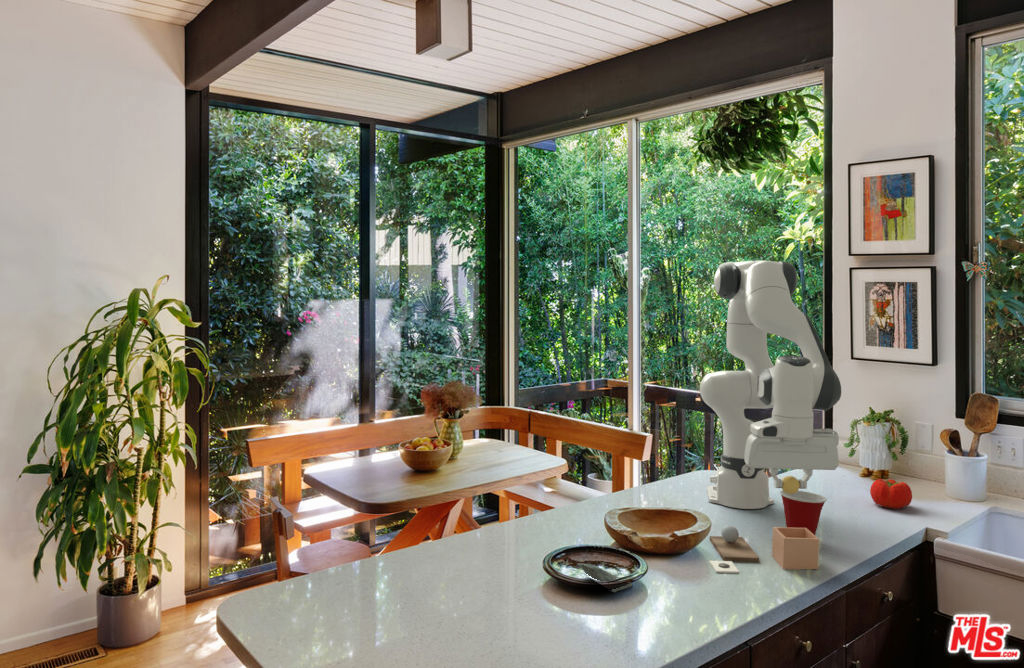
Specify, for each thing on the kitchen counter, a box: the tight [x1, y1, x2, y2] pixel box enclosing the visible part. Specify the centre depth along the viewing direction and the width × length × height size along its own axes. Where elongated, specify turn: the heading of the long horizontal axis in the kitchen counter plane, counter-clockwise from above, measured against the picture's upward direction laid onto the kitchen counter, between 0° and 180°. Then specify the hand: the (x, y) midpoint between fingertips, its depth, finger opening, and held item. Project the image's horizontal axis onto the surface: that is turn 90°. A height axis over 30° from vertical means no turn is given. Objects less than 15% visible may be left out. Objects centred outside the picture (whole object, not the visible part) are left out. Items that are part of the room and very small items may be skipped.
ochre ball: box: [781, 475, 800, 494], centre depth 162 cm, size 4×4×4 cm
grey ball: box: [721, 525, 740, 543], centre depth 173 cm, size 4×4×4 cm
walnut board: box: [709, 535, 760, 563], centre depth 171 cm, size 14×8×1 cm, turn 178°
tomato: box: [869, 478, 913, 510], centre depth 208 cm, size 11×11×8 cm
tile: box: [709, 560, 740, 574], centre depth 160 cm, size 6×5×1 cm
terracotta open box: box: [771, 526, 820, 571], centre depth 163 cm, size 8×8×7 cm
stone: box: [576, 562, 633, 593], centre depth 151 cm, size 11×4×10 cm
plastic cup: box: [779, 489, 827, 536], centre depth 178 cm, size 11×11×12 cm
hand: (790, 487), depth 162 cm, fingers closed on ochre ball, 4 cm apart
